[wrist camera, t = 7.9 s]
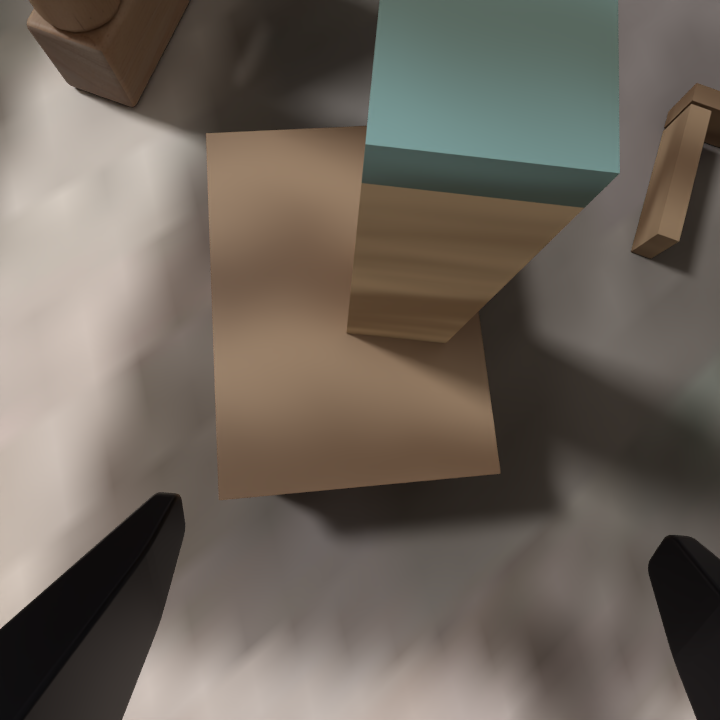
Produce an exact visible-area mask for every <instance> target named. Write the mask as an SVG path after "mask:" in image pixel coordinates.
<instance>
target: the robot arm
mask: <svg viewBox="0 0 720 720" xmlns="http://www.w3.org/2000/svg"><path fill="white" fill-rule="evenodd" d="M184 532H185V519H184V512H183V506H182V499H181V497H180V495H179V494H176V493H164V492H159V493H156V494H154V495H153V496H152V497H150V498H149V499H148V500H147V501H146V502H145V503H144V504H142V505H141V506H140V507H139V508H138V509H137V510H136V511H134V512H133V513H132V514H131V515H130V516H129V517H128V518H126V519H125V520H124V521H123V522H122V523H121V524H120V525H118V526H117V527H116V528H115V529H114V530H113V531H112V532H110V533H109V534H108V535H107V536H106V537H105V538H104V539H102V540H101V541H100V542H99V543H98V544H97V545H96V546H94V547H93V548H92V549H91V550H90V551H89V552H88V553H86V554H85V555H84V556H83V557H82V558H81V559H80V560H79V561H77V562H76V563H75V564H74V565H73V566H72V567H71V568H69V569H68V570H67V571H66V572H65V573H64V574H63V575H61V576H60V577H59V578H58V579H57V580H56V581H55V582H53V583H52V584H51V585H50V586H49V587H48V588H47V589H45V590H44V591H43V592H42V593H41V594H40V595H39V596H37V597H36V598H35V599H34V600H33V601H32V602H31V603H29V604H28V605H27V606H26V607H25V608H24V609H23V610H21V611H20V612H19V613H18V614H17V615H16V616H15V617H13V618H12V619H11V620H10V621H9V622H8V623H7V624H5V625H4V626H3V627H2V628H1V629H0V720H122V718H123V716H124V713H125V711H126V708H127V706H128V703H129V700H130V698H131V695H132V693H133V690H134V688H135V685H136V683H137V680H138V677H139V675H140V672H141V670H142V667H143V665H144V662H145V660H146V657H147V654H148V652H149V649H150V647H151V644H152V642H153V639H154V637H155V634H156V631H157V629H158V626H159V623H160V620H161V617H162V614H163V610H164V607H165V603H166V600H167V596H168V592H169V589H170V585H171V581H172V578H173V574H174V570H175V567H176V563H177V559H178V556H179V552H180V548H181V545H182V541H183V537H184ZM648 572H649V577H650V580H651V584H652V587H653V591H654V594H655V598H656V601H657V605H658V608H659V612H660V615H661V619H662V622H663V626H664V629H665V633H666V636H667V640H668V643H669V646H670V650H671V653H672V656H673V659H674V662H675V664H676V667H677V670H678V673H679V675H680V678H681V680H682V683H683V685H684V688H685V691H686V693H687V696H688V698H689V701H690V703H691V706H692V708H693V711H694V714H695V716H696V719H697V720H720V559H719V558H718V557H717V556H715V555H714V554H713V553H712V552H711V551H709V550H708V549H707V548H706V547H704V546H703V545H702V544H701V543H699V542H698V541H697V540H695V539H694V538H692V537H689V536H680V535H668V536H666V537H665V538H664V539H663V541H662V542H661V544H660V545H659V547H658V548H657V550H656V551H655V553H654V554H653V556H652V557H651V559H650V561H649V564H648Z"/></svg>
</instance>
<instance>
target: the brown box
mask: <svg viewBox="0 0 720 720" xmlns="http://www.w3.org/2000/svg"><path fill="white" fill-rule="evenodd" d="M366 132H367V126H354V127H333V128H311V129H289V130H267V131H245V132H223V133H206V148H207V176H208V205H209V233H210V262H211V290H212V318H213V347H214V375H215V404H216V432H217V460H218V489H219V500H227V499H238V498H248V497H259V496H269V495H280V494H291V493H301V492H312V491H322V490H333V489H343V488H354V487H364V486H375V485H386V484H396V483H407V482H417V481H428V480H438V479H449V478H459V477H470V476H481V475H491V474H501V472H500V465H499V457H498V450H497V443H496V435H495V428H494V421H493V413H492V406H491V399H490V391H489V384H488V377H487V369H486V362H485V355H484V347H483V340H482V333H481V325H480V318H479V311H478V312H477V313H476V314H475V315H474V316H473V317H472V318H471V319H470V320H469V321H468V322H467V323H466V324H465V325H464V326H463V327H462V328H461V329H460V330H459V331H458V332H457V333H456V334H455V335H454V336H453V337H452V338H451V339H450V340H449V341H448V342H447V343H438V342H428V341H418V340H408V339H398V338H388V337H378V336H369V335H359V334H349V333H346V332H347V322H348V312H349V302H350V292H351V282H352V272H353V262H354V251H355V241H356V231H357V221H358V211H359V201H360V191H361V181H362V171H363V161H364V151H365V142H366Z"/></svg>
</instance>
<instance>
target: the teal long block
mask: <svg viewBox="0 0 720 720" xmlns="http://www.w3.org/2000/svg"><path fill="white" fill-rule="evenodd" d="M619 173H620V160H619V53H618V0H380V2H379V12H378V22H377V32H376V42H375V52H374V62H373V72H372V82H371V92H370V102H369V112H368V122H367V132H366V142H365V151H364V161H363V171H362V181H361V191H360V201H359V211H358V221H357V231H356V241H355V251H354V262H353V272H352V282H351V292H350V302H349V312H348V322H347V332H346V333H349V334H359V335H369V336H378V337H388V338H398V339H408V340H418V341H428V342H438V343H447V342H448V341H449V340H450V339H451V338H452V337H453V336H454V335H455V334H456V333H457V332H458V331H459V330H460V329H461V328H462V327H463V326H464V325H465V324H466V323H467V322H468V321H469V320H470V319H471V318H472V317H473V316H474V315H475V314H476V313H477V312H478V311H479V310H480V309H481V308H482V307H483V306H484V305H485V304H486V303H487V302H488V301H489V300H490V299H492V298H493V297H494V296H495V295H496V294H497V293H498V292H499V291H500V290H501V289H502V288H503V287H504V286H505V285H506V284H507V283H508V282H509V281H510V280H511V279H512V278H513V277H514V276H515V275H516V274H517V273H518V272H519V271H520V270H521V269H522V268H523V267H524V266H525V265H526V264H527V263H528V262H529V261H530V260H531V259H532V258H533V257H534V256H535V255H537V254H538V253H539V252H540V251H541V250H542V249H543V248H544V247H545V246H546V245H547V244H548V243H549V242H550V241H551V240H552V239H553V238H554V237H555V236H556V235H557V234H558V233H559V232H560V231H561V230H562V229H563V228H564V227H565V226H566V225H567V224H568V223H569V222H570V221H571V220H572V219H573V218H574V217H575V216H576V215H577V214H578V213H579V212H580V211H582V210H583V209H584V208H585V207H586V206H587V205H588V204H589V203H590V202H591V201H592V200H593V199H594V198H595V197H596V196H597V195H598V194H599V193H600V192H601V191H602V190H603V189H604V188H605V187H606V186H607V185H608V184H609V183H610V182H611V181H612V180H613V179H614V178H615V177H616V176H617V175H618V174H619Z"/></svg>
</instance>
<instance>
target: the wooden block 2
mask: <svg viewBox="0 0 720 720" xmlns="http://www.w3.org/2000/svg"><path fill="white" fill-rule="evenodd" d="M29 1H30V3H31V4H32V6H33V7H34V10H33V11H32V13H31V15H30V16H29V18H28V20H27V27H28V29H29V31H30V32H31V34H32V35H33V36H34V38H35V39H36V40H37V42H38V43H39V45H40V46H41V47H42V49H43V50H44V52H45V53H46V54H47V56H48V57H49V58H50V60H51V61H52V63H53V64H54V65H55V67H56V68H57V70H58V71H59V72H60V74H61V75H62V76H63V78H64V79H65V81H66V82H67V83H68V84H69V85H71V86H73V87H76V88H79V89H82V90H84V91H87V92H90V93H93V94H96V95H98V96H101V97H104V98H107V99H110V100H113V101H115V102H118V103H121V104H124V105H127V106H129V107H134V106H135V105H137V103H138V101H139V99H140V97H141V95H142V93H143V91H144V89H145V87H146V85H147V83H148V81H149V79H150V77H151V75H152V73H153V72H154V70H155V68H156V66H157V64H158V62H159V60H160V58H161V56H162V54H163V52H164V50H165V48H166V46H167V44H168V42H169V40H170V39H171V37H172V35H173V33H174V31H175V29H176V27H177V25H178V23H179V21H180V19H181V17H182V15H183V13H184V11H185V9H186V7H187V5H188V4H189V2H190V0H29Z"/></svg>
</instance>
